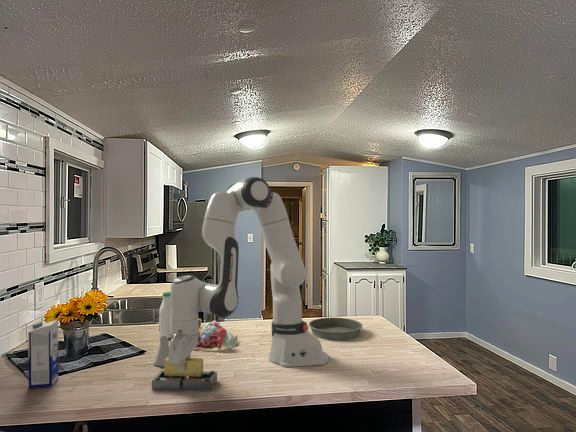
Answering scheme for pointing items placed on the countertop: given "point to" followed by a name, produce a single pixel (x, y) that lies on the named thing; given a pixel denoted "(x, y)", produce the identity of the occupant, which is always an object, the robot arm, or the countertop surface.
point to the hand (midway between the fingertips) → (184, 369)
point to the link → (167, 382)
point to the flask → (162, 351)
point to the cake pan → (335, 328)
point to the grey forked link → (201, 382)
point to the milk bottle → (165, 316)
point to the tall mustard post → (192, 368)
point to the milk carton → (43, 354)
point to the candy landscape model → (215, 338)
